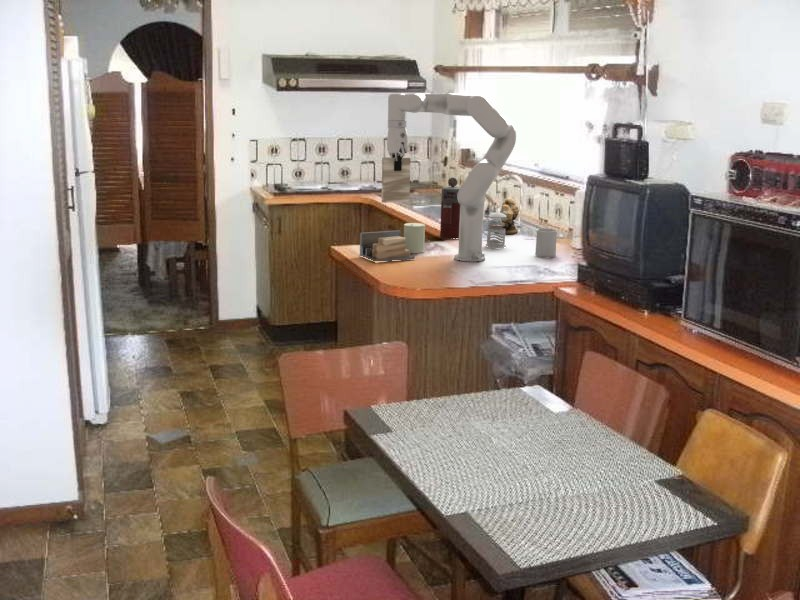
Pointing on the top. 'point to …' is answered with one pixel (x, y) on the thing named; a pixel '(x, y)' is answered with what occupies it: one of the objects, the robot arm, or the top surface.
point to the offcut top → (392, 241)
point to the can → (414, 237)
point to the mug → (546, 243)
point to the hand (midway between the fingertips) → (396, 170)
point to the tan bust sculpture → (509, 216)
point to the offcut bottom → (391, 254)
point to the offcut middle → (388, 248)
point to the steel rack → (373, 238)
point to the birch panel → (395, 181)
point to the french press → (496, 231)
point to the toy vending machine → (450, 210)
